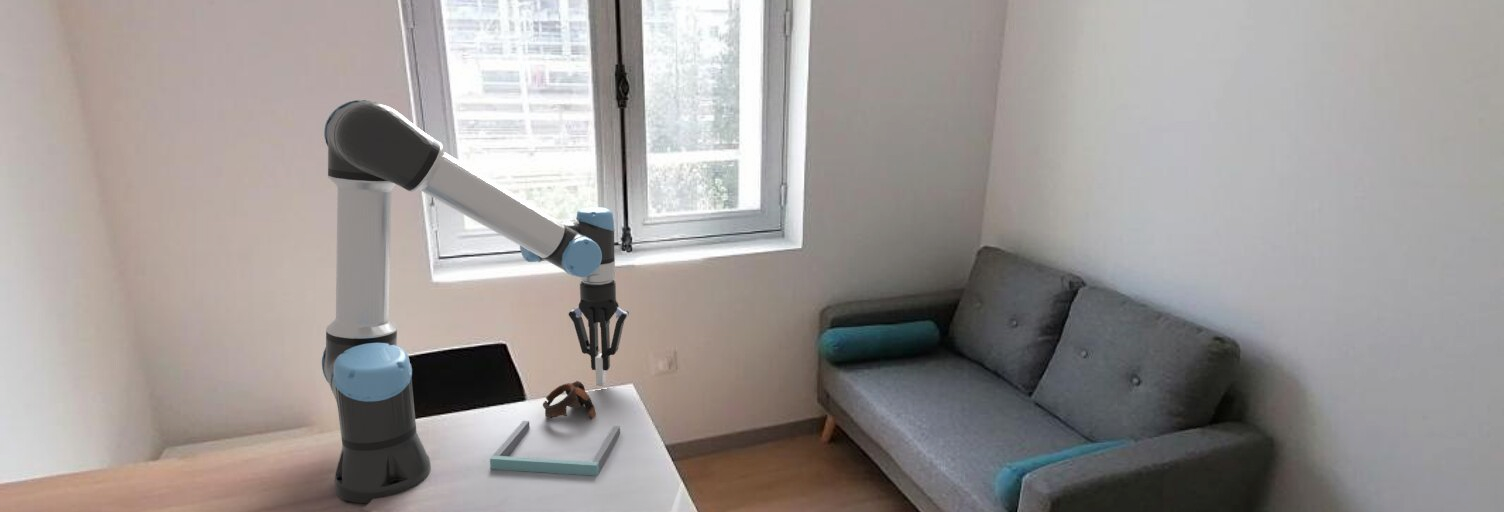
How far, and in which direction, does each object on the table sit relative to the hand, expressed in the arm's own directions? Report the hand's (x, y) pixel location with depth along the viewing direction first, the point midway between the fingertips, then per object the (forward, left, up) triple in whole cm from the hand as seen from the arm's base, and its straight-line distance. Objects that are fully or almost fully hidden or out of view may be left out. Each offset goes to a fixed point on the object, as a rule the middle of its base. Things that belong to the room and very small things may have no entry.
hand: (601, 383), depth 173 cm
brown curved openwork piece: (-1, -13, -3) cm, 13 cm away
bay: (0, -27, -2) cm, 27 cm away
